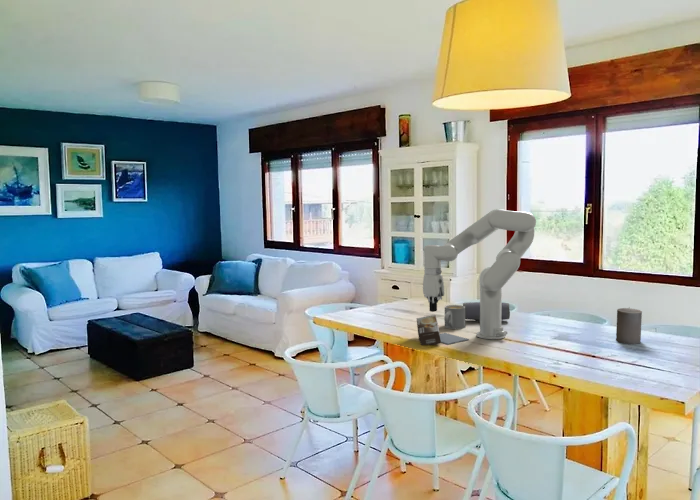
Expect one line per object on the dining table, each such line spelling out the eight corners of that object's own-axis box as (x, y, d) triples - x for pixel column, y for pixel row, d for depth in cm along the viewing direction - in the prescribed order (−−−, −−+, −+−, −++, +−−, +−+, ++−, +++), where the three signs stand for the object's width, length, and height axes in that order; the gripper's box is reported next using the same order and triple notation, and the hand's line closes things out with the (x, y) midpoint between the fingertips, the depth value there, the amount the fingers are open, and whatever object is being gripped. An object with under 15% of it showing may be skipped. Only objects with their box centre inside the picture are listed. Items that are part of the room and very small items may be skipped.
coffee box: (419, 330, 256) (420, 347, 241) (416, 317, 254) (417, 334, 239) (438, 326, 254) (441, 343, 239) (436, 314, 252) (438, 330, 237)
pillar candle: (610, 339, 243) (611, 306, 242) (627, 337, 247) (628, 304, 245) (629, 345, 234) (630, 310, 233) (646, 342, 237) (647, 308, 236)
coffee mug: (454, 323, 281) (454, 304, 280) (469, 326, 273) (469, 306, 272) (435, 327, 273) (435, 307, 272) (450, 331, 265) (450, 310, 264)
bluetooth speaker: (506, 319, 288) (506, 300, 288) (510, 323, 279) (510, 303, 278) (462, 319, 291) (462, 300, 290) (464, 323, 282) (464, 303, 281)
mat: (468, 340, 247) (468, 338, 247) (448, 344, 240) (448, 343, 240) (445, 333, 259) (445, 332, 259) (424, 338, 252) (424, 337, 252)
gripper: (450, 272, 250) (450, 312, 252) (427, 269, 263) (428, 307, 264) (438, 274, 246) (438, 314, 248) (415, 271, 258) (416, 309, 260)
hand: (433, 311), depth 256 cm, fingers closed
